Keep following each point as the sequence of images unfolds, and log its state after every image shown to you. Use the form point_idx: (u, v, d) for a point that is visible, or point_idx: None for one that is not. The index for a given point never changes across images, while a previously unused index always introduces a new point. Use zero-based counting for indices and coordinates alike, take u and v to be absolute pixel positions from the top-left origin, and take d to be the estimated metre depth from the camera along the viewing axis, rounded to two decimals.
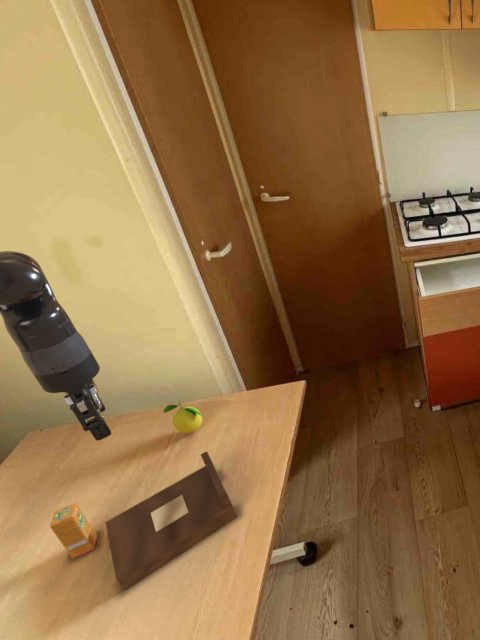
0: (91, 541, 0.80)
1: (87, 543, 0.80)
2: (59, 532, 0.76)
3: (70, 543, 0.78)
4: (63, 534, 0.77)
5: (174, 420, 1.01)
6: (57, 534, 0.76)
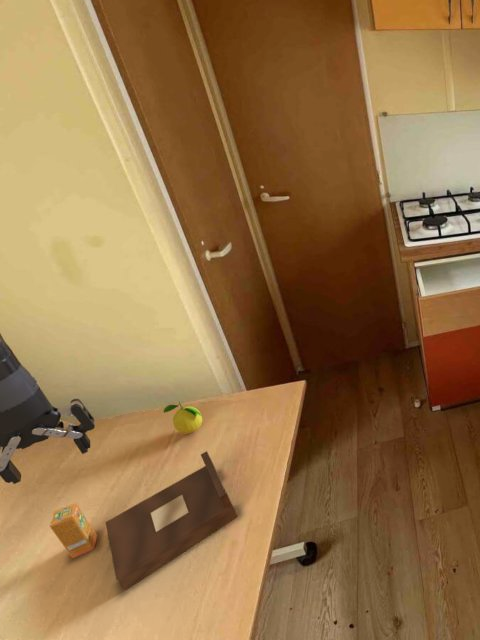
0: (91, 541, 0.80)
1: (87, 543, 0.80)
2: (59, 532, 0.76)
3: (70, 543, 0.78)
4: (63, 534, 0.77)
5: (174, 420, 1.01)
6: (57, 534, 0.76)
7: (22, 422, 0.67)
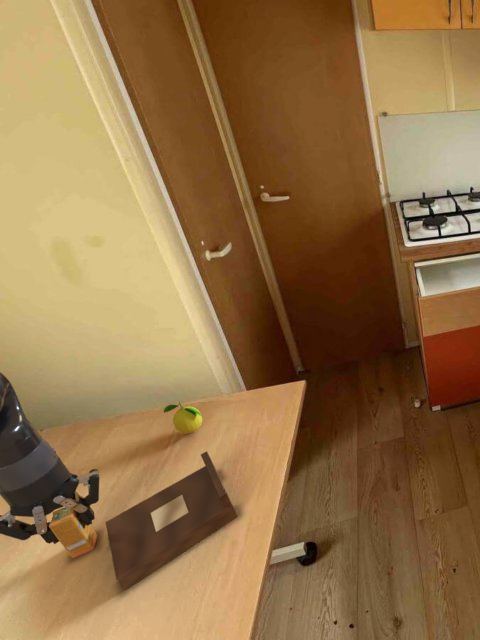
0: (91, 541, 0.80)
1: (86, 543, 0.79)
2: (59, 532, 0.76)
3: (70, 543, 0.78)
4: (62, 534, 0.77)
5: (174, 420, 1.01)
6: (56, 534, 0.76)
7: (45, 493, 0.71)
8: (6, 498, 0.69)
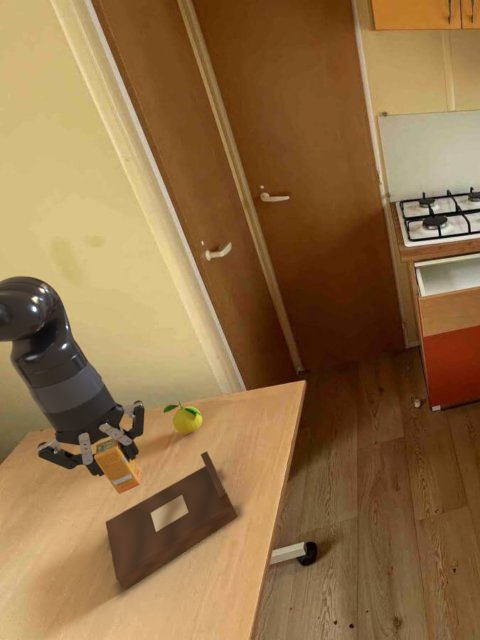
0: (137, 477, 0.77)
1: (132, 478, 0.76)
2: (104, 464, 0.73)
3: (115, 477, 0.74)
4: (108, 467, 0.73)
5: (174, 420, 1.01)
6: (102, 467, 0.72)
7: (92, 418, 0.67)
8: (53, 421, 0.65)
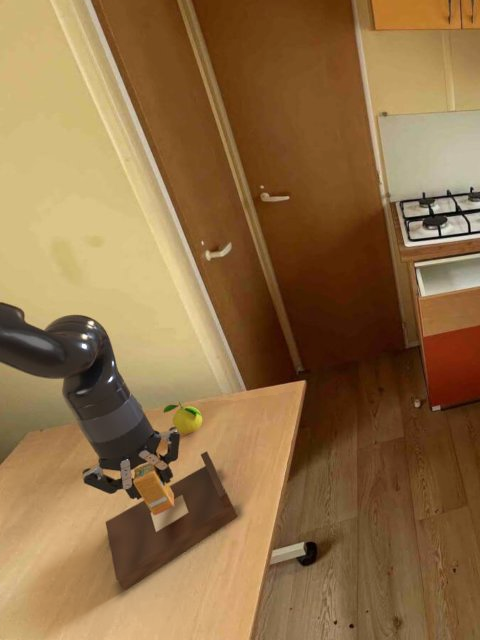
0: (171, 499, 0.81)
1: (167, 500, 0.80)
2: (142, 488, 0.77)
3: (152, 500, 0.78)
4: (145, 491, 0.77)
5: (174, 420, 1.01)
6: (140, 491, 0.76)
7: (134, 446, 0.71)
8: (98, 449, 0.69)
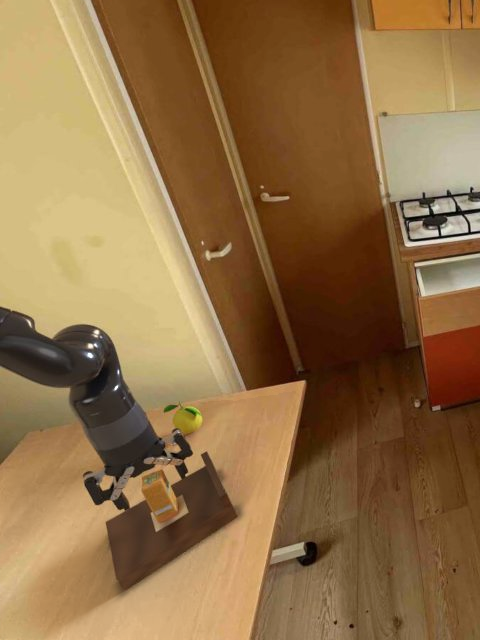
0: (176, 507, 0.82)
1: (172, 508, 0.81)
2: (149, 496, 0.78)
3: (158, 508, 0.79)
4: (152, 498, 0.78)
5: (174, 420, 1.01)
6: (147, 498, 0.78)
7: (139, 453, 0.72)
8: (104, 457, 0.70)
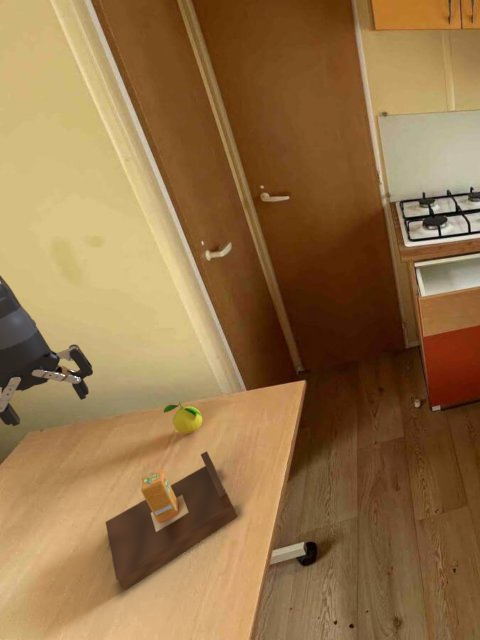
0: (176, 507, 0.82)
1: (172, 508, 0.81)
2: (149, 496, 0.78)
3: (157, 508, 0.79)
4: (152, 498, 0.78)
5: (174, 420, 1.01)
6: (147, 498, 0.78)
7: (23, 361, 0.69)
8: None
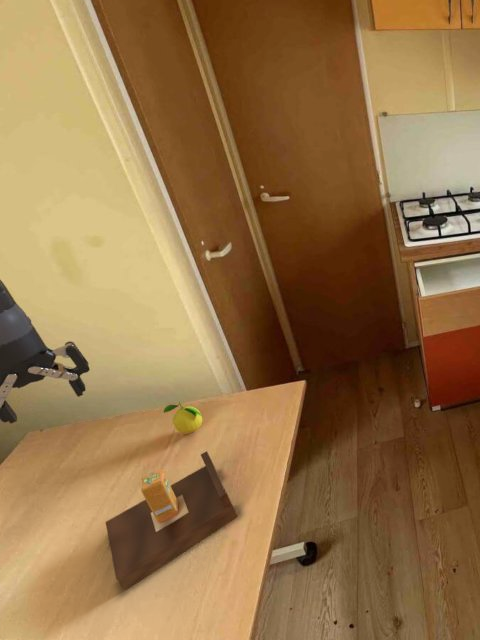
0: (176, 507, 0.82)
1: (172, 508, 0.81)
2: (149, 496, 0.78)
3: (157, 508, 0.79)
4: (152, 498, 0.78)
5: (174, 420, 1.01)
6: (147, 498, 0.78)
7: (19, 358, 0.69)
8: None
